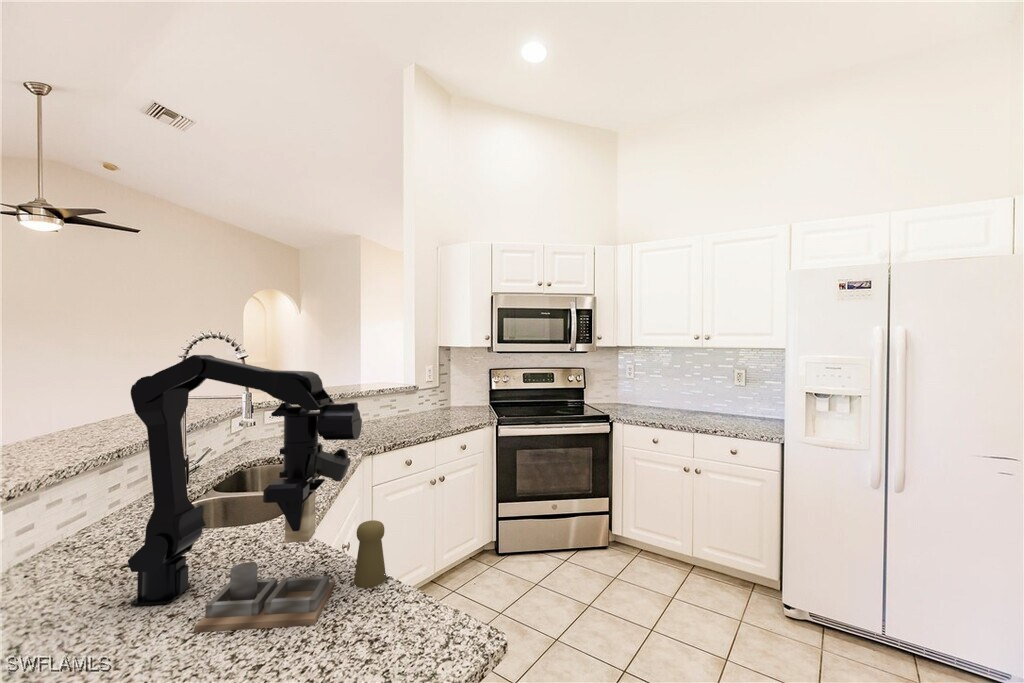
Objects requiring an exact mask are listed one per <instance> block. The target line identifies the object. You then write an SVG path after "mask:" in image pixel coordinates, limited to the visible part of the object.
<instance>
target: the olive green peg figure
mask: <svg viewBox="0 0 1024 683" xmlns="http://www.w3.org/2000/svg"><path fill="white" fill-rule="evenodd" d="M384 536H385V525H384V523H382V521H381V520H367V521H364V522H361V523H360V524H359V525H358V527H357V528H356V539H357V540H358V541H359V542H358V543H359V544H358V551H357V557H356V564H355V571H354V577H353V584H355V585H356V586H355V585H354V586H355V587H357V588H360V589H369V588H374V587H378V586H380V585H382V584H384V582H385V581H386V580H387V574H386V564H385V556H384V549H383V541H382V539H383V538H384ZM382 573H383V574H382ZM384 574H385V575H384Z"/></svg>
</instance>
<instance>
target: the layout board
mask: <svg viewBox="0 0 1024 683" xmlns="http://www.w3.org/2000/svg"><path fill="white" fill-rule="evenodd" d="M229 574H230V576H229V577H230V578H229V581H228V583H227V584H225V586H224V587H223V588H221V590H219V591H218V592H217V594H216V595H214V596H213V598H211V600H210V601H209V602H208V603H207V604H205V611H204V612H205V613H204V616H203V617H202V618H201V619H200V620H199V621H198V622H197V623H196V624H195V625H194V633H207V632H221V631H222V632H223V631H224V632H225V631H239V630H253V629H256V630H257V629H269V628H286V627H288V628H289V627H302V626H303V627H304V626H315V625H316V623H317V621H318V620H319V618H320V616H321V614H322V612H323V610H324V608H325V606H326V605H327V602H328V601H329V599H330V597H331V596H332V593H333V592H332V591H334V590H333V589H335V588H336V581H330V575H324V576H322V575H321V576H304V577H301V576H299V577H284V578H282V580H281V581H280V582H279V583H278V578H265V579H264V578H263V579H262V578H261V579H259V578H258V563H257V562H252V561H250V562H249V561H247V562H243V563H239V564H236V565H234V566H232V568H230V573H229ZM334 587H335V588H334Z"/></svg>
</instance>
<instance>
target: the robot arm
mask: <svg viewBox="0 0 1024 683" xmlns="http://www.w3.org/2000/svg"><path fill="white" fill-rule="evenodd" d="M207 379H208V380H210V381H211V380H212V381H217V382H221V383H225V384H229V385H235V386H239V387H243V388H249V389H254V390H258V391H260V392H261V391H262V392H263V393H266V394H267V395H269V396H271V397H272V398H274V399H276V400H279V401H280V402H282V403H280V405H279V406H278V408H276V409H275V410H273V411H272V412H271V417H283V446H282V447H281V448H279V455H280V456H281V455H283V469H282V470H280V471H279V476H278V477H279V478H278V479H275V480H274V481H273V482H271V483H270V484H269V485H267V487H266V488H264V490H263V493H262V494H263V496H262V498H263V499H262V502H263V503H265V504H269V503H273V504H274V503H276V504H277V505H278V507H279V509H280V511H281V512H282V515H284V519H285V518H286V519H287V521H288V523H289V525H290V527H291V529H292V531H299V530H300V526H301V521H302V515H303V509H304V503H305V500H306V499H308V498H309V497H310V495H311V494H312V493H313V492H309V490H318V488H319V487H320V486H322V484H324V483H325V481H326V479H325V478H327V479H328V478H329V479H331V480H332V481H334V482H338V483H339V482H342V481H343V479H344V478H346V475H347V472H348V470H349V467H350V466H351V462H352V460H351V458H350V457H349V455H348V450H347V449H344V448H339V449H338V450H336V451H335V452H334V453H333V452H331V451H330V452H328V451H327V452H326V451H324V447H323V446H324V445H323V444H322V442H319V437H322V438H323V440H324V441H354V440H355V441H357V440H358V439H359V438H360V435H361V432H362V426H363V425H362V423H363V419H362V417H361V412H360V410H359V408H358V406H359V405H358V402H357V401H356V402H354V401H353V402H352V401H351V402H346V403H335V401H334V400H333V399H332V398H331V396H330V395H329V394H328V392H327V391H326V390H325V389H324V387H323V381H322V379H321V377H320V376H319V374H318V373H316V372H314V371H307V370H306V371H304V370H280V369H279V370H275V369H274V370H273V369H270V368H264V367H261V366H256V365H251V364H247V363H242V362H236V361H234V360H227V359H224V358H219V357H215V356H214V355H210V354H193V355H190V356H189V357H187V358H185V359H184V360H181V361H180V362H178V363H176V364H174V365H172V366H168V367H167V368H164V369H162V370H159V371H158V372H156V373H154V374H152V375H146V376H142V377H140V378H138V379H137V380H136V381H135V383H134V384H132V385H131V388H130V398H131V402H132V406H133V410H134V413H135V414H136V415H137V416H138V418H139V419H140V420H141V421H142V423H143V424H144V425H145V427H146V430H147V442H148V454H149V463H150V464H149V465H150V473H151V474H150V475H151V485H152V495H153V496H152V497H153V509H152V512H151V515H150V517H149V518H148V521H147V524H146V526H145V532H144V534H145V537H144V544H143V546H141V547H140V548H139V549H138V550H137V551H136V552H135V553H134V554H132V556H131V557H129V559H128V560H127V564H128V567H129V569H130V572H131V573H137V589H136V590H137V591H136V597H135V599H132V600H131V601H130V603H129V604H130V606H132V607H135V606H149V605H150V606H153V605H167V604H168V605H169V604H171V603H172V602H174V601H175V600H176V599H177V598H178V597H179V596H181V595H182V594H183V593H185V591H186V590H188V589H189V588H190V587H191V582H189V564H187V555H185V554H187V553H188V552H191V551H192V549H193V547H194V545H195V543H196V542H197V541H198V540H199V538H200V537H201V536H202V534H203V529H204V527H206V523H205V521H204V507H203V505H202V504H200V505H196V506H195V505H194V504H193V503H192V502H191V500H190V499H189V496H188V487H187V485H188V484H187V476H186V474H187V473H186V465H185V464H186V462H185V455H184V454H185V453H184V445H183V442H184V441H183V433H182V419H183V417H184V415H185V413H186V411H187V408H188V405H189V395H190V393H191V392H192V391H194V390H195V389H197V388H198V387H200V386H201V385H202V384H203V383H204V382H205V381H206V380H207ZM292 405H293V406H292ZM295 405H296V406H295ZM318 475H319V476H322V477H325V478H318V477H319V476H318Z"/></svg>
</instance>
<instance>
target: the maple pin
mask: <svg viewBox="0 0 1024 683" xmlns="http://www.w3.org/2000/svg"><path fill="white" fill-rule="evenodd" d="M316 490H317V489H316ZM316 490H309V492H313V493H312V494H311V495H310V497H309V498H308V499H306V500H305V503H304V509H303V515H302V521H301V526H300V530H299V531H292V529H291V527H290V525H289V523H288V521H287V519H286V518H285V517H284V543H286V544H287V543H305V542H309V541H310V540H311V539H312V538H313V536H314V534H315V533H316Z"/></svg>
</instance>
